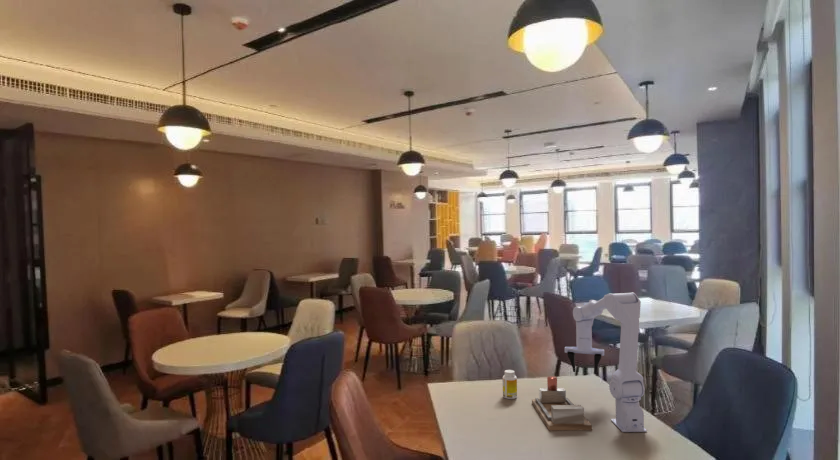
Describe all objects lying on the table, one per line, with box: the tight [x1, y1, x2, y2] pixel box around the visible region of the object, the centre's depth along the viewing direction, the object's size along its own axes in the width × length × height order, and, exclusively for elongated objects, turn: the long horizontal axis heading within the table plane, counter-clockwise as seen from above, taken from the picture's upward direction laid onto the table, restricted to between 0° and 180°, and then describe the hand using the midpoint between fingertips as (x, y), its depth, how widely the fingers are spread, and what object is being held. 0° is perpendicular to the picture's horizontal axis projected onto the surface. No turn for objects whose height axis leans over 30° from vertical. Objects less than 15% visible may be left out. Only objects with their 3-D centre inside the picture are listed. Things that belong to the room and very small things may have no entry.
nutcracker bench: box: [531, 397, 593, 431], centre depth 166 cm, size 24×14×6 cm, turn 0°
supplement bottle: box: [502, 369, 518, 400], centre depth 185 cm, size 6×6×10 cm
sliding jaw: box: [538, 375, 567, 403], centre depth 175 cm, size 4×9×9 cm, turn 90°
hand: (584, 372), depth 182 cm, fingers open, 7 cm apart
